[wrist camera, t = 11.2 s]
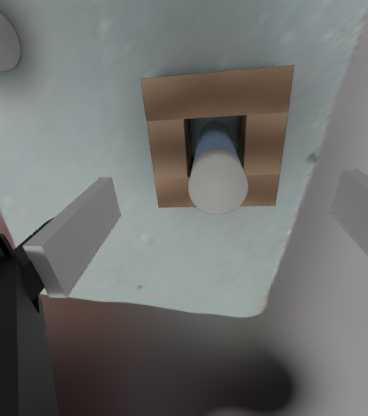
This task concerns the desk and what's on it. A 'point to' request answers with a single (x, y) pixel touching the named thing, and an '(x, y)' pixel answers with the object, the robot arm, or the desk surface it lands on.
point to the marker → (217, 172)
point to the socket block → (218, 107)
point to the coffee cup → (8, 45)
